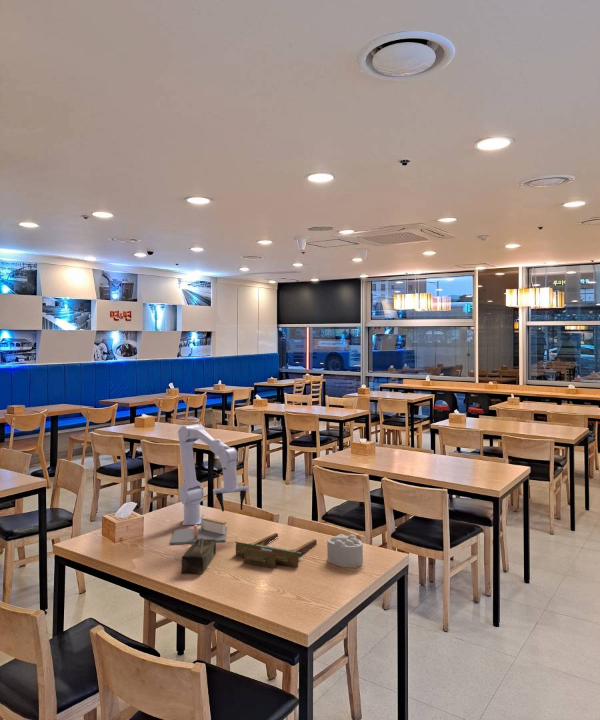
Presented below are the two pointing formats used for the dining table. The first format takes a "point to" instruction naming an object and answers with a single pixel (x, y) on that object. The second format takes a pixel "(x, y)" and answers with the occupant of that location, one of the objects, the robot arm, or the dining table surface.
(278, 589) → the dining table surface
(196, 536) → the grey plate with bar
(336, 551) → the lumpy-topped squat cylinder
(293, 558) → the miniature gate
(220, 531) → the gate
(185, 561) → the dark olive rectangular block
